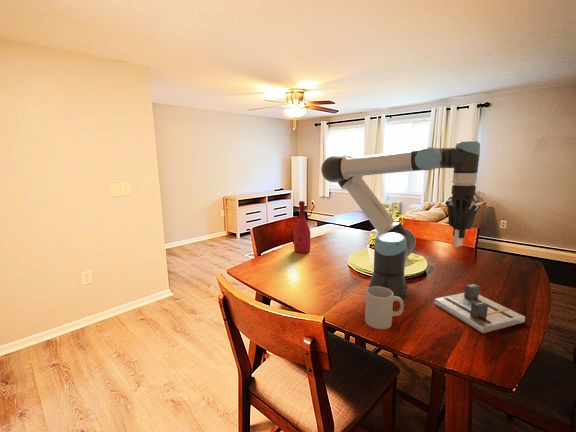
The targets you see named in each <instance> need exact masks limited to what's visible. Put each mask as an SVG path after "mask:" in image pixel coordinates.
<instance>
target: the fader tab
mask: <svg viewBox="0 0 576 432" xmlns="http://www.w3.org/2000/svg"><path fill="white" fill-rule="evenodd" d="M480 288H481V287H480V285H477V284H476V283H469V284H468V283H467V284H465V285H464V292H463V293H464V296H465V297H466V298H468V299H474V298H478V296H479V295H480Z"/></svg>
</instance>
